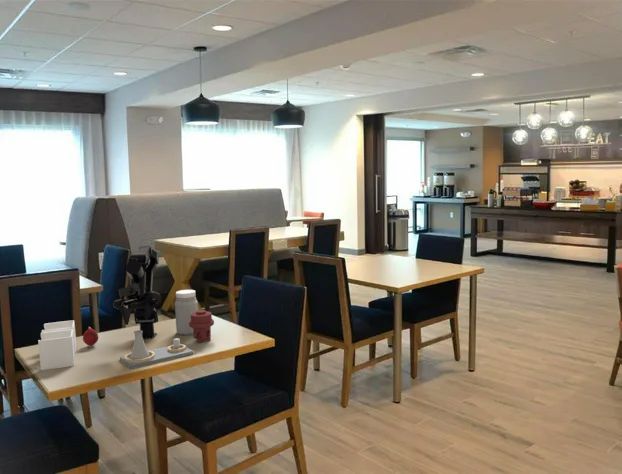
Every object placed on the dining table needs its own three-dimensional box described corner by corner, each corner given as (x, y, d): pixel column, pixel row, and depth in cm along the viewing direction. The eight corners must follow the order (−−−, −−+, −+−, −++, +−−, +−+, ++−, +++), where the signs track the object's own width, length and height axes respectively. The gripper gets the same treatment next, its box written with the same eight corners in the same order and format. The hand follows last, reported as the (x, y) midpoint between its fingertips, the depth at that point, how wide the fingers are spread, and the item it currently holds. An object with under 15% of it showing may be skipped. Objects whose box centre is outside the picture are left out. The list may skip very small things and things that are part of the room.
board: (130, 368, 200) (129, 354, 200) (119, 360, 210) (118, 346, 209) (193, 354, 214) (192, 340, 214) (180, 346, 224) (179, 333, 223)
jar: (196, 335, 238) (194, 293, 236) (173, 336, 238) (171, 294, 236) (201, 329, 248) (199, 288, 246) (179, 329, 248) (177, 289, 246)
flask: (128, 356, 210) (126, 330, 209) (148, 353, 213) (146, 327, 212) (131, 362, 203) (129, 335, 202) (151, 359, 206) (149, 332, 205)
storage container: (74, 366, 205) (71, 336, 204) (40, 370, 202) (38, 340, 200) (76, 346, 229) (74, 320, 227) (46, 350, 225) (44, 323, 223)
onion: (102, 345, 229) (100, 325, 228) (91, 349, 224) (89, 329, 223) (91, 343, 231) (90, 324, 230) (80, 347, 226) (78, 328, 225)
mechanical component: (218, 337, 235) (209, 344, 225) (195, 336, 237) (186, 343, 227) (216, 308, 233) (207, 314, 224) (194, 307, 235) (184, 314, 226)
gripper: (104, 283, 218) (101, 322, 212) (144, 272, 212) (142, 312, 206) (123, 290, 228) (122, 328, 221) (162, 280, 222) (161, 319, 215)
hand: (136, 322), depth 215 cm, fingers open, 9 cm apart
